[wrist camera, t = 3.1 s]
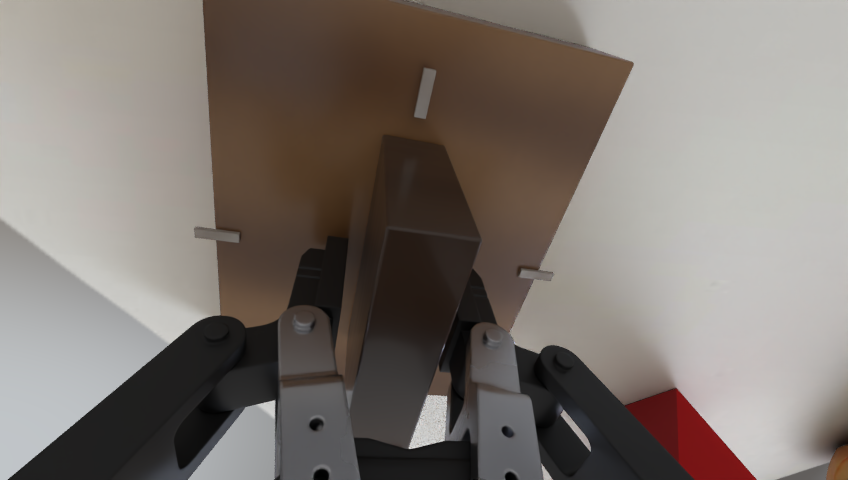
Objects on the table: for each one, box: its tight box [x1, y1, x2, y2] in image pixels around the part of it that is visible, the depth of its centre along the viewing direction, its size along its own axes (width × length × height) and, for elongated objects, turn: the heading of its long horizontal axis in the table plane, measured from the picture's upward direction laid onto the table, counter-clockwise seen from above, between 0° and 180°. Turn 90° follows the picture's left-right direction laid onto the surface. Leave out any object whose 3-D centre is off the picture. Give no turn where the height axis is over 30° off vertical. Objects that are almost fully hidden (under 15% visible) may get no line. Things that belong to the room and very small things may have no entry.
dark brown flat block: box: [344, 135, 482, 449], centre depth 13 cm, size 9×2×6 cm, turn 167°
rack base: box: [194, 0, 634, 396], centre depth 16 cm, size 16×13×3 cm
